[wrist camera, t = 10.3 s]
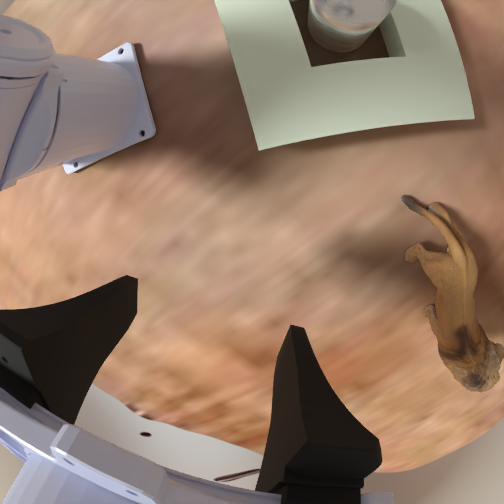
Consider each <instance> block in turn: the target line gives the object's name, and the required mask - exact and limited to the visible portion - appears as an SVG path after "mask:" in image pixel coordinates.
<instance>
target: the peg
mask: <svg viewBox="0 0 504 504" xmlns="http://www.w3.org/2000/svg"><path fill="white" fill-rule="evenodd" d="M396 1H397V0H310V1H309V13H308V30H309V32H310V34H311V36H312V38H313V39H314V40H315V41H316V42H317V43H318V44H319V45H321V46H322V47H324V48H326V49H328V50H330V51H334V52H350V51H353V50H355V49H357V48H359V47H360V46H361V45H362V44H363V43H364V42H365V40H366V39H367V38H368V37H369V36H370V35H371V33H372V32H373V31H374V30H375V29H376V28H377V27H378V25H379V24H380V23H381V22H382V21H383V20H384V19H385V17H386V16H387V15H388V14H389V13H390V12H391V11H392V9H393V8H394V6H395V4H396Z"/></svg>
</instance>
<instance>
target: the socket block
mask: <svg viewBox="0 0 504 504" xmlns="http://www.w3.org/2000/svg"><path fill="white" fill-rule="evenodd" d="M214 1H215V4H216V7H217V10H218V13H219V16H220V19H221V23H222V26H223V29H224V32H225V35H226V39H227V42H228V45H229V48H230V52H231V55H232V58H233V62H234V65H235V68H236V72H237V75H238V79H239V82H240V85H241V89H242V92H243V96H244V99H245V103H246V106H247V110H248V113H249V117H250V121H251V124H252V128H253V131H254V135H255V139H256V142H257V146H258V150H264V149H268V148H272V147H276V146H281V145H285V144H290V143H295V142H299V141H304V140H309V139H314V138H319V137H325V136H330V135H336V134H342V133H347V132H354V131H360V130H366V129H373V128H380V127H388V126H396V125H404V124H413V123H423V122H435V121H448V120H464V119H475V116H474V110H473V105H472V100H471V95H470V90H469V86H468V82H467V77H466V73H465V70H464V66H463V62H462V59H461V55H460V52H459V49H458V45H457V42H456V39H455V36H454V33H453V30H452V28H451V25H450V22H449V19H448V17H447V14H446V12H445V9H444V7H443V4H442V2H441V0H397V1H396V4H395V6H394V8H393V9H392V11H391V12H390V13H389V14H388V15H387V16H386V17H385V19H384V20H383V21H382V22H381V23H380V24H379V27H380V30H381V33H382V36H383V39H384V42H385V45H386V48H387V51H388V54H389V58H376V59H365V60H356V61H348V62H341V63H334V64H327V65H321V66H315V67H311V64H310V61H309V58H308V55H307V52H306V48H305V45H304V42H303V39H302V36H301V33H300V30H299V27H298V25H297V22H296V19H295V16H294V13H293V11H292V8H291V5H290V3H289V2H292V1H298V0H214Z"/></svg>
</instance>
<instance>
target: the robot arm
mask: <svg viewBox="0 0 504 504" xmlns="http://www.w3.org/2000/svg"><path fill="white" fill-rule="evenodd" d="M123 49H124V51H123V53H122V54H121V50H123ZM143 130H144V131H145V135H144V136H142V133H141V132H142V131H143ZM155 133H156V127H155V124H154V120H153V117H152V113H151V110H150V106H149V102H148V99H147V95H146V91H145V88H144V84H143V80H142V76H141V72H140V68H139V64H138V60H137V56H136V52H135V48H134V45H133V44H132V43H125V44H123V45H121V46H119V47H117V48H116V49H114V50H112V51H110V52H109V53H107V54H105V55H104V56H102V57H100V58H99V59H97V60H96V59H91V58H85V57H79V56H72V55H65V54H57V53H55V50H54V48H53V45H52V41H51V39H50V38H49V37H48V36H47V35H46V34H45V33H44V32H42V31H41V30H39V29H38V28H36V27H34V26H32V25H30V24H28V23H26V22H23V21H21V20H18V19H15V18H11V17H7V16H3V15H0V191H2V190H4V189H7V188H9V187H12V186H14V185H15V184H16V182H17V180H18V179H21V178H24V177H27V176H30V175H32V174H35V173H38V172H41V171H44V170H47V169H50V168H53V167H57V166H60V165H63V166H64V169H65V172H66V173H67V174H71V173H74V172H76V171H78V170H79V169H81V168H83V167H85V166H87V165H90V164H92V163H94V162H96V161H98V160H100V159H102V158H104V157H106V156H108V155H111V154H113V153H115V152H117V151H120V150H122V149H124V148H126V147H129V146H131V145H134V144H136V143H138V142H141V141H143V140H146V139H148V138H151V137H153V136H154V135H155ZM76 163H78V166H77V165H76ZM137 290H138V279H137V278H134V277H131V276H128V275H126V276H123V277H121V278H118V279H116V280H114V281H112V282H110V283H107V284H105V285H103V286H101V287H99V288H96V289H94V290H92V291H89V292H87V293H84V294H82V295H79V296H77V297H74V298H71V299H68V300H65V301H62V302H58V303H55V304H50V305H45V306H41V307H35V308H27V309H15V310H0V443H1V444H2V445H3V446H5V447H6V448H7V449H8V450H9V451H10V452H12V453H13V454H14V455H15V456H17V457H18V458H19V459H20V460H21V461H23V462H24V463H25V464H24V467H23V468H22V469H21V471H20V473H19V475H18V476H17V478H16V479H15V481H14V483H13V485H12V487H11V488H10V490H9V492H8V493H7V495H6V497H5V499H4V500H3V502H2V504H393V493H392V492H379V493H378V492H377V493H365V494H362V495H361V494H360V488H363V486H364V478H365V477H367V476H368V475H369V474H371V473H372V472H373V471H375V470H376V469H377V468H378V467H379V466H380V465H381V463H382V454H381V447H380V442H379V439H378V438H377V437H376V436H374V435H373V434H372V433H371V432H370V431H369V430H367V429H366V428H365V427H364V426H363V425H362V424H361V423H360V422H359V421H358V420H357V419H356V418H355V417H354V416H353V415H352V414H351V413H350V412H349V410H348V409H347V408H346V407H345V405H344V404H343V403H342V402H341V401H340V399H339V398H338V396H337V395H336V394H335V392H334V391H333V389H332V388H331V386H330V384H329V383H328V381H327V379H326V377H325V375H324V374H323V372H322V370H321V368H320V366H319V363H318V361H317V359H316V357H315V355H314V352H313V350H312V347H311V345H310V342H309V340H308V337H307V334H306V331H305V329H304V328H302V327H298V326H294V325H290V328H289V330H288V332H287V335H286V337H285V340H284V342H283V344H282V347H281V349H280V352H279V354H278V356H277V362H276V367H275V372H274V382H273V398H272V413H271V422H270V428H269V433H268V438H267V443H266V448H265V453H264V457H263V461H262V466H261V470H260V474H259V478H258V481H257V485H256V488H255V491H253V490H248V489H243V488H238V487H233V486H229V485H225V484H220V483H217V482H212V481H209V480H205V479H201V478H197V477H194V476H191V475H188V474H184V473H181V472H178V471H175V470H172V469H169V468H166V467H163V466H160V465H158V464H156V463H154V462H152V461H150V460H148V459H146V458H144V457H142V456H139V455H137V454H135V453H132V452H130V451H128V450H125V449H123V448H121V447H118V446H116V445H114V444H112V443H110V442H107V441H106V440H103V439H101V438H99V437H98V436H95V435H94V434H91V433H90V432H87V431H86V430H84V429H82V428H80V427H77V426H75V425H74V423H75V420H76V418H77V415H78V413H79V410H80V408H81V405H82V403H83V401H84V399H85V396H86V394H87V392H88V390H89V388H90V386H91V384H92V382H93V380H94V378H95V376H96V375H97V373H98V371H99V369H100V367H101V366H102V364H103V363H104V361H105V360H106V358H107V357H108V356H109V354H110V353H111V352H112V350H113V349H114V348H115V346H116V345H117V344H118V342H119V341H120V340H121V338H122V337H123V336H124V334H125V333H126V331H127V330H128V329H129V327H130V325H131V323H132V322H133V320H134V318H135V316H136V314H137Z"/></svg>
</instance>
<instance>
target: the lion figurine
mask: <svg viewBox="0 0 504 504" xmlns="http://www.w3.org/2000/svg"><path fill="white" fill-rule="evenodd" d="M401 199H402V200H403V202H404V203H405V204H406V205H407V206H408V208H409V209H410V210H412V211H414V212H417V213H418V214H420V215H422V216H423V217H425V218H426V219H428V220H429V221H430V222H431V223H432V224H433V225H434V226H435V227H436V228H437V229H438V230H439V231H440V232H441V234H442V235H443V237H444V238H445V240H446V242H447V243H448V248H447V252H435V251H427V250H426V249H425V248H424V246H423V245H422V243H417V244H415V245H413V246H411V247H409V248H408V249H407V250H406V252H405V260H406V261H407V262H408V263H414V262H416V261H417V260H418V259H419V261H420V263H421V265H422V268H423V270H424V272H425V273H426V275H427V276H428V277H429V278H430V279H431V281H432V283H433V284H434V285H435V286H436V287H437V288H438V289H437V292H436V297H435V307H436V308H435V307H434V306H433V305H428V306H426V307H425V309H424V310H423V316H425V317H429V321H430V324H431V327H432V331H433V333H434V334H435V335H436V337H437V340H438V351H439V354H440V357H441V359H442V360H443V362H444V364H445V366H446V367H447V368H448V369H449V370H450V371H451V372H452V374H453V375H454V378H455V379H456V380H457V381H459V382H460V383H461V384H462V385H463V386H464V387H465V388H466V389H467V390H470V391H479V392H483V391H487V390H489V389H491V388H492V387H493V386H494V385H495V384H496V383H497V382H498V381H499V379H500V376H499V373H498V371H499V369H500V364H501V361H502V359H503V358H504V347H503V346H502V345H501V344H498V343H496V344H495V343H494V342H491V341H490V340H489V339H488V338H487V337H486V334H485V332H484V330H483V329H482V327H481V325H480V324H479V323H478V321H477V318H476V306H475V300H474V296H473V293H474V290H475V287H476V283H477V278H478V267H477V263H476V260H475V257H474V254H473V252H472V250H471V248H470V246H469V245H468V243H467V242H466V241H465V240H464V239H463V237H462V236H461V235H460V233H459V232H458V231H457V229H456V228H455V226H454V224H453V222H452V220H451V218H450V215H449V213H448V211H447V210H446V209H444V208H443V207H442V206H441V205H440V204H439V203H437V202H434V203H432V204H430V206H429V208H428V210H426V209H424V208H423V207H421V206H419V205H418V204H416V203H415V202H414V200H413V199H412V198H410V197H409V196H407V195H403V196H402V197H401Z"/></svg>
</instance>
